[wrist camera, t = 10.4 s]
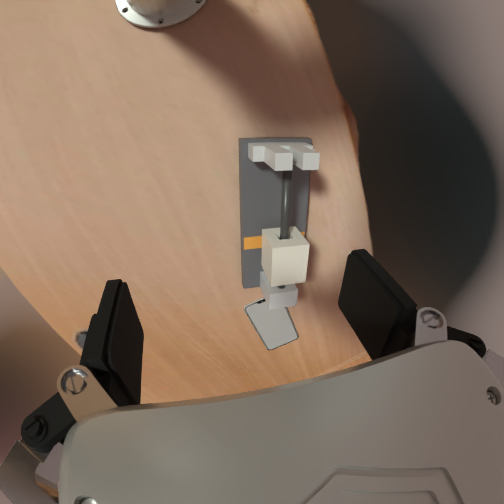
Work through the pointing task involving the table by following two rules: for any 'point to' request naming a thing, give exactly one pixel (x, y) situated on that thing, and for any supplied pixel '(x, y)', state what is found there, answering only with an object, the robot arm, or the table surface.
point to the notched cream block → (284, 256)
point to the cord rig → (272, 203)
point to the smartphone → (271, 324)
